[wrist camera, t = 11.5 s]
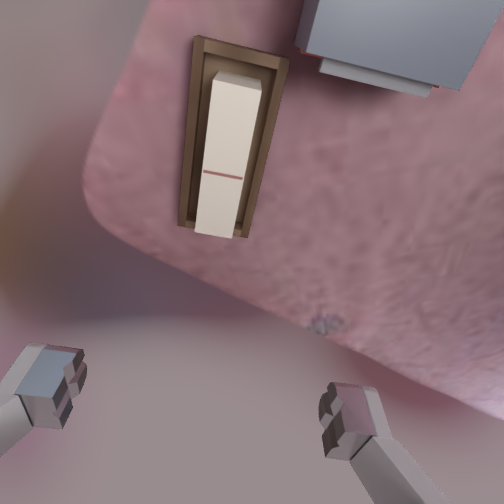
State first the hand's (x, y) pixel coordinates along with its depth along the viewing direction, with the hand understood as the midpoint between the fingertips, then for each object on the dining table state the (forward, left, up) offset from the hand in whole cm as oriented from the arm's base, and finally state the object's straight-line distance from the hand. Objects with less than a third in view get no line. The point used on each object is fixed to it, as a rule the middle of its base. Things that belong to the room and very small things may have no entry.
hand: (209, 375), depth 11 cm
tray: (+1, -1, -20) cm, 20 cm away
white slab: (+1, -1, -20) cm, 20 cm away
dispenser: (-7, -12, -20) cm, 25 cm away
